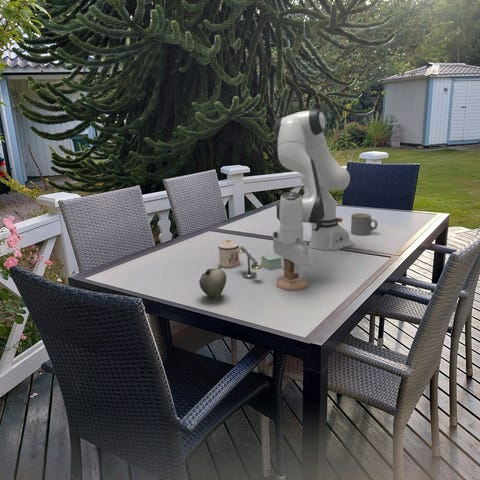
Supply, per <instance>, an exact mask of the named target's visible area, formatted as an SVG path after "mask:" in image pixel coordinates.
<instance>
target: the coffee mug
mask: <svg viewBox="0 0 480 480" xmlns="http://www.w3.org/2000/svg"><path fill="white" fill-rule="evenodd" d="M350 220H351V222H350V234H351V235H353V236H358V237H366V236H370V235H371V231H374V230H377V228H378V220H377V219H375V218H372V215H371V214H369V213H366V212H363V213H362V212H356V213H355V212H354V213H352V214H351V219H350ZM372 222H373V223H374V226H372ZM369 234H370V235H369ZM365 235H366V236H365Z"/></svg>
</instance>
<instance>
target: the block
mask: <svg viewBox="0 0 480 480" xmlns="http://www.w3.org/2000/svg"><path fill="white" fill-rule="evenodd" d="M294 266H295V265H294V263H293V262H291V261H289V260H287V259H285V260H284V262H283V277H285V278H287V279H289V280H292V279H297V278H298V277H300V276H299V269H298V273H296V274H295V273H293V272H292V268H294Z"/></svg>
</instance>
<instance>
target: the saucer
mask: <svg viewBox="0 0 480 480" xmlns="http://www.w3.org/2000/svg"><path fill="white" fill-rule="evenodd" d="M275 285H276V287H277V288H278V289H280V290H285V291H300V290H304V289H306V288H307V287H308V280H307V279H306V278H304V277H301V276H299V277H298V278H297V279H292V280H289V279H287V278H285V277H284V276H281V277H279V278H277V279H276V281H275Z"/></svg>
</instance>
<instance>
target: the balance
mask: <svg viewBox="0 0 480 480" xmlns="http://www.w3.org/2000/svg"><path fill="white" fill-rule="evenodd" d="M236 252H238V253H239V254H245V255H246V257H247V271H244V272H242V273H241V277H242V278H243V279H254V278H257V276H258V275H257V272H255V271H251V269H252V270H261V269H262V268H263V266H262V264H259V263H258V261H257V260H256V259H255V258H254V256H252V254H251V253H250V252H249V251H248V249H247V248H245V247H244V246H239V249H237V250H236ZM251 261H252V263H251Z"/></svg>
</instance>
